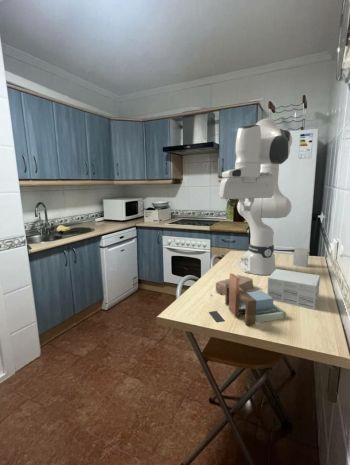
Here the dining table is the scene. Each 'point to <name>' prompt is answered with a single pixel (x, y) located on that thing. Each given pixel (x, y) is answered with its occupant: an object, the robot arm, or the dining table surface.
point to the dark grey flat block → (216, 316)
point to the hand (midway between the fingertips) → (246, 211)
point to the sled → (236, 302)
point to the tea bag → (300, 257)
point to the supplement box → (294, 288)
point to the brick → (244, 284)
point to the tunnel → (250, 305)
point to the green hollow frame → (271, 315)
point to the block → (262, 300)
